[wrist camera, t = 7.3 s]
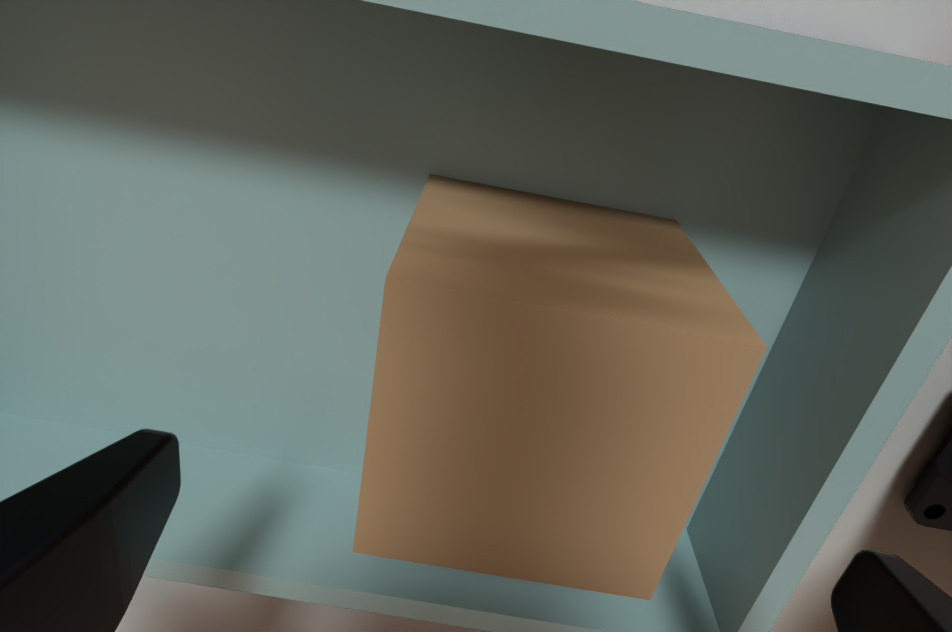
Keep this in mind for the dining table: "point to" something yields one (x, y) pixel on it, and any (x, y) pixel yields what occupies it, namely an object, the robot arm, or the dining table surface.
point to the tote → (379, 235)
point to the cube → (546, 389)
